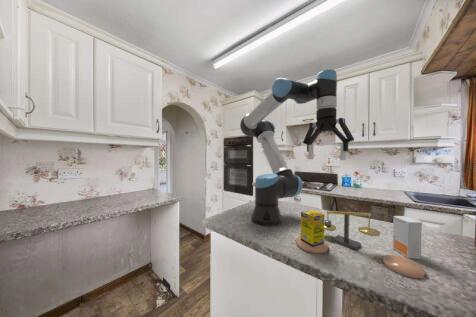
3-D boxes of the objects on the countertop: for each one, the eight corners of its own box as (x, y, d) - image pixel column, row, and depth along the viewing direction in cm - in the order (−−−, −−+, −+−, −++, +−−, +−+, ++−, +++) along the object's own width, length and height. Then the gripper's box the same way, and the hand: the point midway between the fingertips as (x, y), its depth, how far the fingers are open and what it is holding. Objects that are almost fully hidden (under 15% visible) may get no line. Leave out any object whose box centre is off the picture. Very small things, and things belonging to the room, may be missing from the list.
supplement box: (313, 247, 60) (313, 216, 60) (300, 240, 65) (300, 211, 65) (324, 243, 63) (325, 213, 62) (310, 236, 68) (311, 209, 68)
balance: (316, 235, 72) (317, 203, 71) (324, 231, 75) (324, 201, 75) (376, 259, 55) (377, 217, 55) (382, 252, 59) (382, 213, 59)
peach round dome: (290, 243, 65) (290, 240, 65) (306, 235, 72) (306, 232, 71) (318, 257, 56) (318, 254, 56) (334, 247, 63) (334, 243, 63)
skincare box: (392, 248, 62) (392, 215, 61) (404, 248, 62) (404, 215, 61) (408, 258, 56) (409, 222, 55) (421, 259, 56) (422, 222, 55)
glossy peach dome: (378, 265, 52) (378, 261, 52) (387, 255, 58) (387, 251, 58) (422, 283, 45) (422, 278, 45) (427, 269, 50) (427, 265, 50)
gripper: (295, 113, 80) (295, 159, 81) (356, 99, 60) (355, 160, 60) (305, 115, 85) (304, 158, 85) (364, 103, 64) (363, 160, 65)
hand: (325, 159), depth 73 cm, fingers open, 13 cm apart
